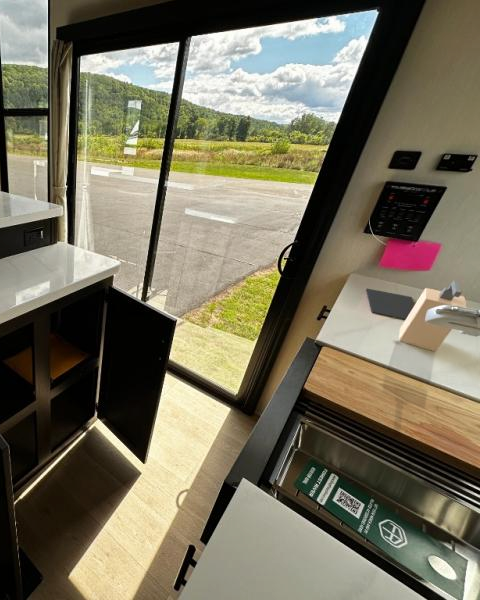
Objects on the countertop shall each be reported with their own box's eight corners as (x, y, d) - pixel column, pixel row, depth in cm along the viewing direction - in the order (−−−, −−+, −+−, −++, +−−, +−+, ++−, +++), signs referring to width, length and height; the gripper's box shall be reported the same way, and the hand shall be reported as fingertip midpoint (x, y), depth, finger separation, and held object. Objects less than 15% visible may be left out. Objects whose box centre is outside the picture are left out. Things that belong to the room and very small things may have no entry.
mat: (411, 298, 124) (411, 296, 124) (423, 324, 110) (423, 322, 110) (366, 289, 131) (366, 288, 131) (371, 312, 117) (372, 311, 116)
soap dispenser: (399, 328, 109) (435, 271, 97) (434, 338, 104) (477, 279, 92) (398, 347, 101) (437, 287, 89) (435, 358, 96) (482, 297, 84)
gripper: (440, 319, 73) (410, 330, 85) (582, 349, 63) (524, 357, 75) (446, 294, 73) (415, 309, 86) (587, 319, 64) (529, 332, 76)
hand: (467, 331), depth 80 cm, fingers closed
